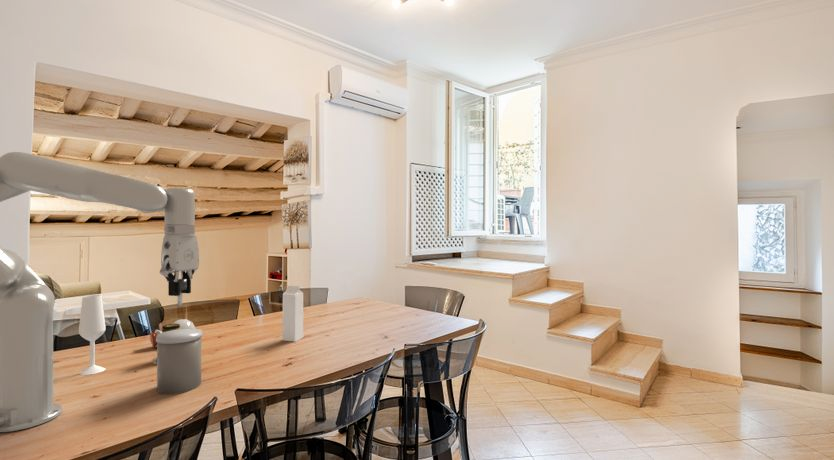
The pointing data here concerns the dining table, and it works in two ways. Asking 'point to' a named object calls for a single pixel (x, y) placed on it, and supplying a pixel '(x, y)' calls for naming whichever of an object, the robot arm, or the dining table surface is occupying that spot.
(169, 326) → the condiment
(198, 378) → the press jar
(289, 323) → the milk
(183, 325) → the potion bottle
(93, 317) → the champagne flute
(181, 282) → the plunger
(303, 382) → the dining table surface
